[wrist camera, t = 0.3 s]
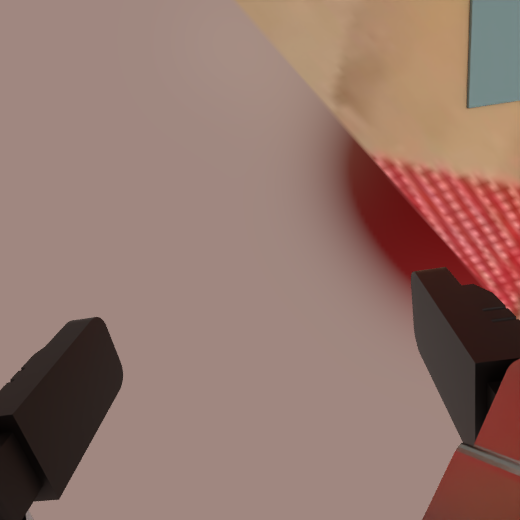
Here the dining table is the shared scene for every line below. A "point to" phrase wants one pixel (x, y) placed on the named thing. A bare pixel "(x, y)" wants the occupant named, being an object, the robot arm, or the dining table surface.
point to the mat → (493, 52)
